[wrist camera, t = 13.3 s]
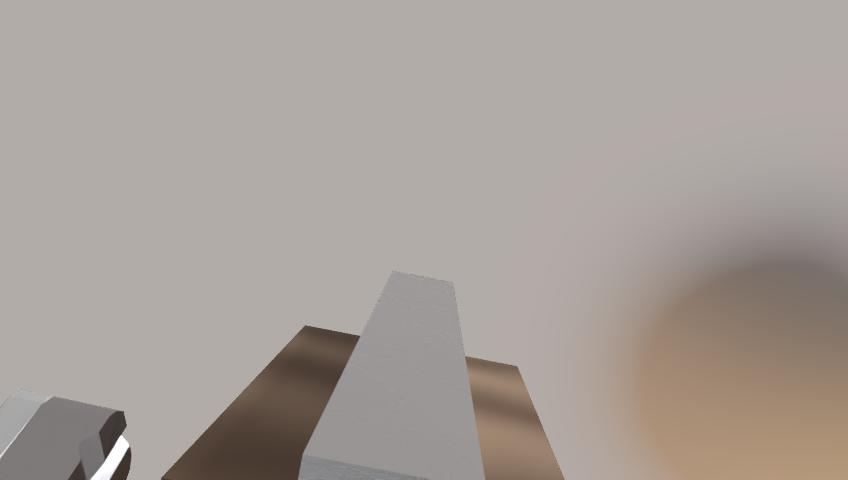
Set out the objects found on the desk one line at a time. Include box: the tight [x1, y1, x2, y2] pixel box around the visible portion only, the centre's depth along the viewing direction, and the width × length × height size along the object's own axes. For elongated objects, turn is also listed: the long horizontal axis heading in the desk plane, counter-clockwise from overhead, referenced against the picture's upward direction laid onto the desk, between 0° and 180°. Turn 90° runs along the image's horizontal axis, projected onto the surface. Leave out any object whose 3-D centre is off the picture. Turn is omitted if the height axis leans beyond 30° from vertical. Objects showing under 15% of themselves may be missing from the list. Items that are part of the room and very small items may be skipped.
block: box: [298, 271, 485, 480], centre depth 22 cm, size 22×3×3 cm, turn 179°
